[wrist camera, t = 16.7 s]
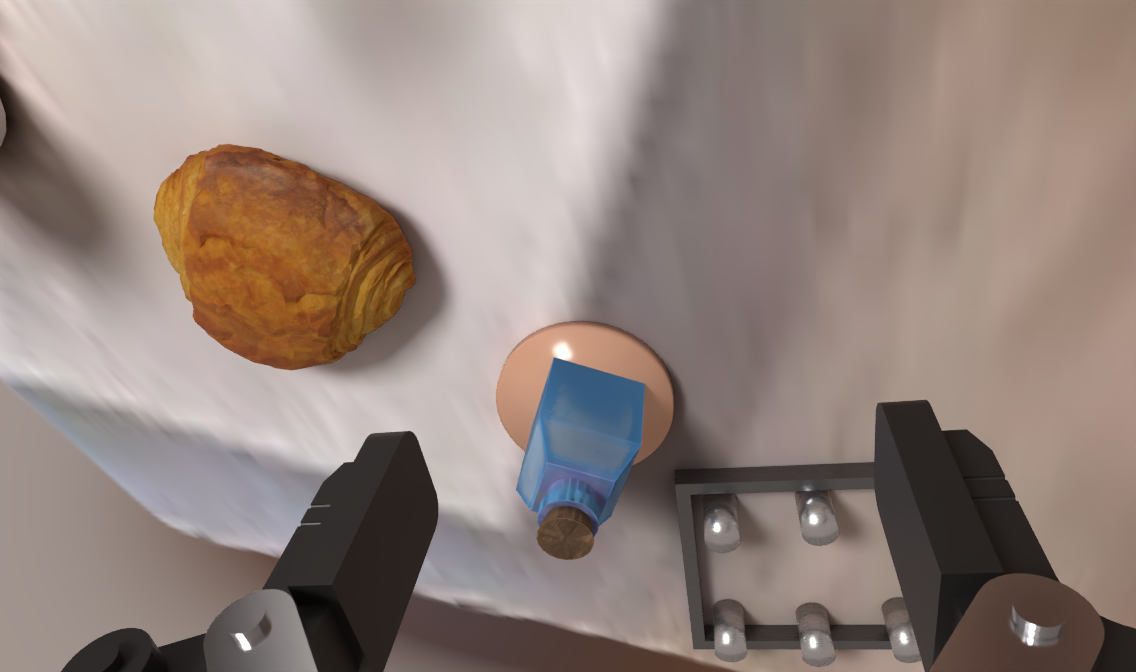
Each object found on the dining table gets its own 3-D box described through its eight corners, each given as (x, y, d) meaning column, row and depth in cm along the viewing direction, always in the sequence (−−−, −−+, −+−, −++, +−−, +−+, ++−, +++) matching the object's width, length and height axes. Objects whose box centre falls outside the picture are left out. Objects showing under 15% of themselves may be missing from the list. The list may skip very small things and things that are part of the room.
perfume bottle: (617, 452, 54) (603, 590, 44) (531, 427, 54) (498, 561, 44) (644, 383, 51) (637, 516, 41) (553, 357, 51) (523, 484, 41)
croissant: (230, 86, 47) (137, 111, 40) (453, 218, 48) (398, 265, 41) (180, 272, 54) (93, 321, 47) (374, 385, 55) (316, 450, 48)
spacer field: (958, 458, 53) (977, 500, 49) (935, 632, 62) (950, 678, 58) (674, 470, 56) (674, 510, 53) (693, 633, 65) (694, 676, 62)
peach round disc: (665, 314, 49) (664, 323, 48) (680, 459, 56) (680, 470, 55) (482, 328, 52) (479, 337, 51) (517, 466, 58) (514, 477, 57)
